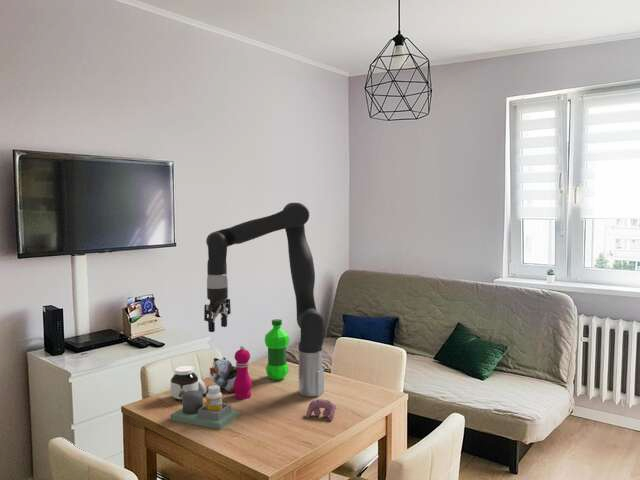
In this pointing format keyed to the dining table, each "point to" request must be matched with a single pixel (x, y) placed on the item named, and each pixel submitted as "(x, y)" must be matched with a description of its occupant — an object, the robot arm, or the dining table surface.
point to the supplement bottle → (214, 398)
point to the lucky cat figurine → (224, 374)
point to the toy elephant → (321, 403)
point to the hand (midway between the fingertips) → (218, 329)
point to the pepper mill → (242, 375)
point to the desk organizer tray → (202, 412)
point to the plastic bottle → (277, 351)
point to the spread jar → (185, 382)
